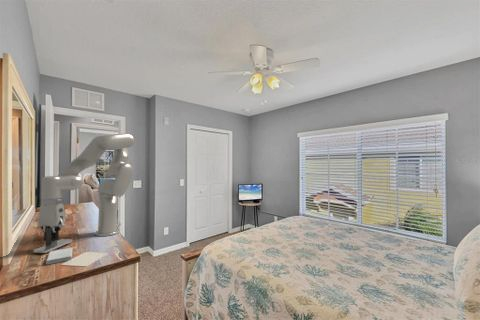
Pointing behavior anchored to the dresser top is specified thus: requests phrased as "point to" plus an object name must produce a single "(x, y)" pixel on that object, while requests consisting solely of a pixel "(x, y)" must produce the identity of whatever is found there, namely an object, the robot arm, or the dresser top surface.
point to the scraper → (51, 242)
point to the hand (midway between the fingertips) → (51, 239)
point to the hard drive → (59, 255)
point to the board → (85, 259)
